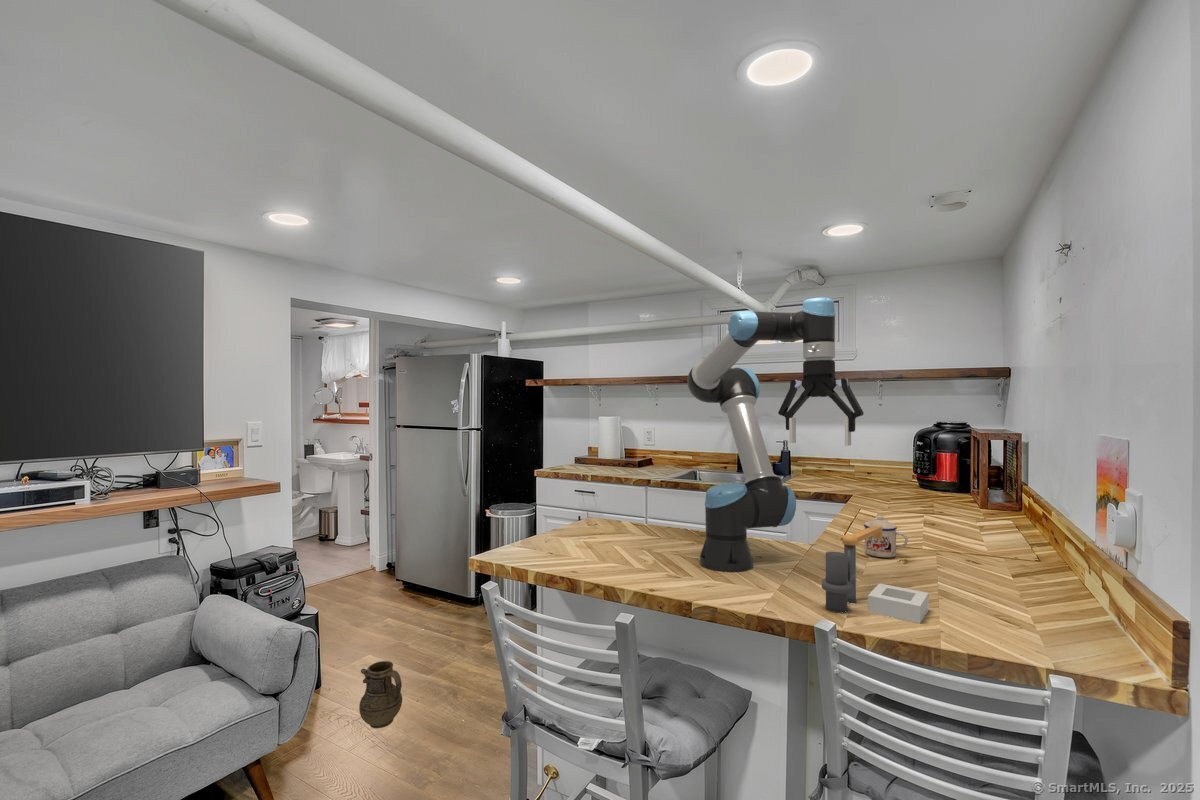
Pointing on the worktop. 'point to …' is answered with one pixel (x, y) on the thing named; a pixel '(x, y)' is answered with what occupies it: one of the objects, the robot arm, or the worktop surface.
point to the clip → (862, 535)
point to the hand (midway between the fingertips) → (819, 444)
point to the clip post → (851, 571)
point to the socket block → (898, 602)
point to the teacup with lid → (883, 539)
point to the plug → (836, 582)
